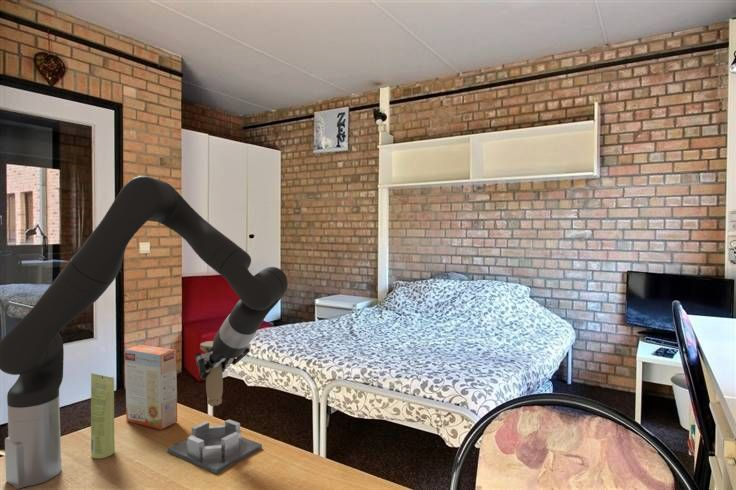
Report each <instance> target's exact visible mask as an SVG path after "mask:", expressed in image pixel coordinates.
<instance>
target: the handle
mask: <svg viewBox="0 0 736 490" xmlns="http://www.w3.org/2000/svg"><path fill="white" fill-rule="evenodd" d="M213 341H214V340H210V341H204V342H201V343H200V344H199V345H200V347H199V348H200V350H201V351H203V352H204V353H208V350H209V349H210V348H211V347H212V346H213ZM208 364H209V363H208ZM209 366H210V365H209ZM223 377H224V376H223V373H222V362H221V363H220V364H219V365H218V366H217V367H216V368H213V369H212V370H211V372H210V374H209V375H208V376H207V377H206V379H205V389H206V390H205V391H206V398H207V404H208V405H209V406H210V407H214V406H219V405H221V404H222V403H223V390H224V378H223Z"/></svg>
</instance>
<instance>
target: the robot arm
mask: <svg viewBox="0 0 736 490" xmlns="http://www.w3.org/2000/svg"><path fill="white" fill-rule="evenodd" d="M147 222H154V223H155V222H158V223H159V224H161V225H163V226H165V227H166V228H168V229H170V230H172V231H174V232H175V233H177V234H178V235H179V236H180V237H181V238H182V239H183V240H184V241H186V243H188V245H189V246H190V247H191V249H192V250H193V252H195V255H197V256H198V257H199V259H200V260H202V261H203V262H204V263H205V264H206V265H207V266H209V267H210V268H211V269H212V270H214V271H215V272H217V273H218V274H219V275H220V276H222V277H223V278H224V279H225V281H226V282H227V283H228V284H229V286H230V288H232V290H233V291H234V293H235V294H236V296H237V297H238V298H239V300H238V301H237V302H236V304H235V305H234V307H233V308H232V310H231V311H230V312H229V313H230V314H229V315H228V316H227V317H226V318H225V319H224V321H223V322H222V324H221V326H220V327H219V330H218V331H217V332H216V334H215V336H214V338H213V340H212V341H213V346H212V347H211V348H210V349H209V350H208V353H206V352H204V353H201V352H197V353H196V354H195V365H196V366H197V368H198V374H199V376H200V379H202V380H203V381H204V380H206V377H207V376H208V375H209V374H210V372H211V370H212V369H213V368H216V367H217V366H218V365H219V364H220V363H221V362H222V374H223V373H224V372H225V371H226V370H227V368H229V367H230V366H231V365H233V366H234V365H236V364H237V363H239V362H240V361H241V360H242V359H243V358H244V357H245V356H247V355H248V354H249V353H250V352H251V349H250V347H249V345H250V343H251V342H252V340H253V339H254V337H255V336H256V333H257V331H258V330H259V328H260V326H261V325H262V323H263V322H264V321H265V318H266V317H267V315H268V314H269V313H270V311H271V310H273V308H274V307H275V306H276V305H277V304H278V302H279V301H280V300H281V299H282V298H283V297H284V295H285V293H286V292H287V289H288V287H289V286H288V285H289V282H288V277H287V274H286V273H285V272H284V270H282V269H281V268H278V267H276V266H269V267H266V268H263V269H262V270H259V272H257V273H256V274H255V275H253V274H252V273H251V271H249V268H250V266H251V264H252V258H251V256H250V255H249V253H248V252H246V250H244V249H243V248H242V247H241V246H239V245H238V244H236V243H235V242H234V241H233V240H231V239H230V238H229V237H227V236H226V235H225V234H223V233H222V232H221V231H219V230H218V229H217V228H215V226H213V225H211V224H210V223H209V222H208V221H207V220H206V219H204V218H203V217H202V215H200V214H199V213H198V212H197V211H196V210H195V209H194V208H193V207H192V206H191V205H190V204H189V203H188V201H186V200H185V199H184V197H183V196H182V195H181V194H180V193H179V192H178V191H177V189H176V188H175V187H173V186H172V185H171V184H170V183H168V182H166V181H165V180H164V181H163V180H160V179H157V178H156V177H155V178H154V177H151V176H148V175H147V176H146V175H138V176H136V177H133V178H132V179H130V180H128V182H126V183H125V185H123V187H122V188H121V189H120V191H119V193H118V194H117V196H116V197H115V199H114V201H113V202H112V204H111V205H110V207H109V208H108V209H107V212H106V214H105V215H104V216H103V218H102V220H101V221H100V222H99V224H98V225H97V226H96V227H95V228H94V230H93V231H92V232H91V234H90V235H89V236H88V237H87V239H86V240H85V241H84V243H83V244H82V246H80V248H79V249H78V251H77V252H76V253H75V254H73V256H72V257H71V259H69V261H68V262H67V263H66V264H65V266H64V267H63V268H62V269H61V270H60V271H59V274H58V275H57V276H56V278H55V279H54V280H53V282H52V283H51V284H50V286H48V287H47V289H46V290H45V291H44V292H43V294H42V295H41V297H40V298H39V299H38V301H37V302H35V305H34V306H32V308H31V309H30V310H29V311H28V312H27V314H26V315H25V316H24V317H22V319H21V320H20V321H19V322H18V323H16V325H15V326H14V327H13V328H12V329H10V331H8V333H6V335H5V336H3V338H2V339H1V340H0V370H1V372H3V373H6V374H7V375H8V374H9V375H11V376H12V375H13V376H14V375H15V376H17V375H19V376H18V378H17V379H16V381H15V382H14V384H13V385H12V386H11V387H10V389H9V390H8V391H7V394H6V395H7V396H6V401H7V402H6V403H7V429H8V430H7V433H8V434H7V435H8V437H5V438H4V456H5V457H4V458H5V481H6V482H8V484H10V485H12V487H14V488H15V487H16V488H15V489H17V490H20V489H22V488H26V487H30V486H36V485H39V484H42V483H45V482H47V481H49V480H52V479H53V478H55V477H56V476H57V475H59V474H60V473H61V471H62V445H61V441H62V438H61V415H60V414H61V413H60V410H61V409H60V388H61V385H62V382H63V378H64V361H65V360H64V357H65V352H64V342H63V337H62V335H61V334H60V332H61V331H62V330H63V328H65V327H66V326H67V325H68V324H69V323H70V322H71V321H73V320H74V319H76V318H77V317H78V316H80V315H81V314H82V313H83V312H85V311H86V310H87V309H88V308H90V307H91V306H92V305H93V304H94V303H96V302H97V300H98V299H99V298H100V297H101V296H102V295H103V294H104V293H105V292H106V291H107V289H108V288H109V287H110V285H112V283H113V282H114V281H115V279H116V278H117V277H118V274H119V272H120V270H121V268H122V264H123V262H124V260H123V259H124V255H125V251H126V249H127V247H128V245H129V243H130V242H131V240H132V239H133V237H134V236H135V235H136V233H137V232H139V231H140V229H141V228H142V227H143V226H144V225H145V224H146V223H147ZM208 363H209V364H208ZM209 365H210V366H209ZM19 488H20V489H19Z"/></svg>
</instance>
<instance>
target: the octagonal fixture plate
mask: <svg viewBox="0 0 736 490" xmlns="http://www.w3.org/2000/svg"><path fill="white" fill-rule="evenodd" d="M261 449H263V445H262V443H259V442H256V441H254V440H251V439H248V438H246V437H243V436H242V429H241V423H240V422H238V421H235V420H232V419H227V420H225V421H224V424H220V425H219V424H218V425H217V424H216V425H210V422H209V421H203V422H200V423H199V424H197V425H194V426H192V427H191V434H189V436H188V437H187V439H185V440H183V441H180V442H178V443H176V444H173V445H171V446H169V447H167V448H166V450H167V453H168V454H171V455H173V456H175V457H177V458H180V459H182V460H184V461H186V462H188V463H190V464H192V465H195V466H197V467H199V468H201V469H204V470H206V471H208V472H210V473H213V474H215V475H218V474H219V473H221V472H222V471H224V470H226V469H228V468H229V467H231V466H233V465H236V464H237V463H238V462H240V461H242V460H244V459H246V458H247V457H250V456H251V455H253V454H255V453H256V452H258V451H259V450H261Z"/></svg>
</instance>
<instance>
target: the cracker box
mask: <svg viewBox="0 0 736 490" xmlns="http://www.w3.org/2000/svg"><path fill="white" fill-rule="evenodd" d="M124 361H125V362H124V364H125V367H124V368H125V411H126V412H125V413H126V414H125V415H126V416H125V417H126V419H125V420H126V422H130V423H133V424H138V425H141V426H146V427H148V428H152V429H157V430H161V431H162V430H163V429H166V428H168V427H170V426H172V425H174V424H176V423H178V385H177V384H178V382H177V381H178V380H177V375H178V374H177V372H178V371H177V349H174V348H173V349H171V348H165V347H158V346H153V345H147V344H139V345H136V346H131V347H128V348H125V350H124Z"/></svg>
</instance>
